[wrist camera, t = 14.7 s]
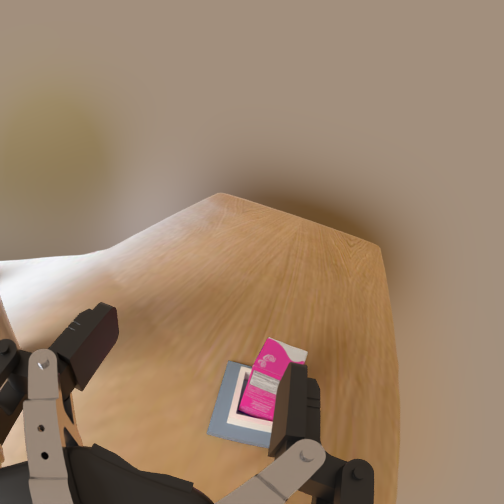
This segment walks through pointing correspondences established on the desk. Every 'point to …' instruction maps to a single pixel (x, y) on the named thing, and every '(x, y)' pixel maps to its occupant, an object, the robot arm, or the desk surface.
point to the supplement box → (268, 378)
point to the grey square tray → (229, 418)
